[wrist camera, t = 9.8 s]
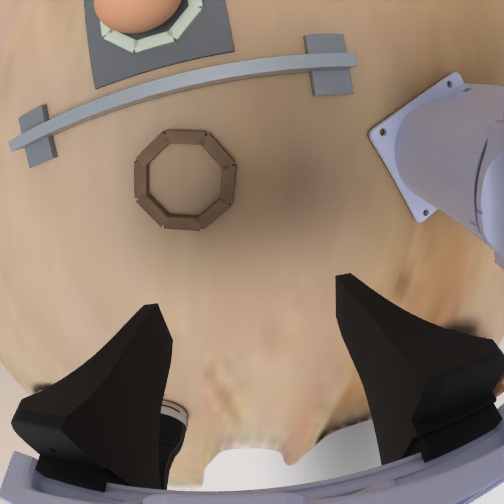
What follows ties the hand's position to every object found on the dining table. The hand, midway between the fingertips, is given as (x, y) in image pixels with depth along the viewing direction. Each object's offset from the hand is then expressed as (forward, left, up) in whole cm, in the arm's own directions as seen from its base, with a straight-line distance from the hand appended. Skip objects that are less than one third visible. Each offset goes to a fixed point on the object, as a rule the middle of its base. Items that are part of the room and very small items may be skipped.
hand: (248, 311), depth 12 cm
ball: (-5, -15, -9) cm, 18 cm away
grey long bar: (-2, -10, -9) cm, 14 cm away
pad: (-5, -15, -9) cm, 19 cm away
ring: (+1, -5, -9) cm, 11 cm away
